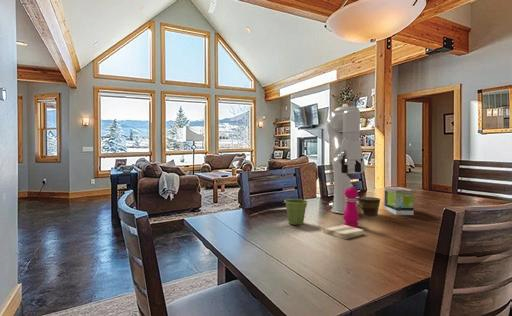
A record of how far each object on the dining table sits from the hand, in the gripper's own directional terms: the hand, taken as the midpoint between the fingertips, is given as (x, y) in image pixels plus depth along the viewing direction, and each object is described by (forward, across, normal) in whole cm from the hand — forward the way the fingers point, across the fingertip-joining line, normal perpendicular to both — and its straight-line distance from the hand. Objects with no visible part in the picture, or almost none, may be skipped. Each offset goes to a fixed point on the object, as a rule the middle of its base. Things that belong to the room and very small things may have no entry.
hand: (351, 172), depth 134 cm
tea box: (+26, -44, -2) cm, 51 cm away
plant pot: (+26, +18, -20) cm, 37 cm away
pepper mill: (+26, 0, 0) cm, 26 cm away
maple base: (+26, +13, +6) cm, 29 cm away
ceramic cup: (+26, -24, -8) cm, 36 cm away
